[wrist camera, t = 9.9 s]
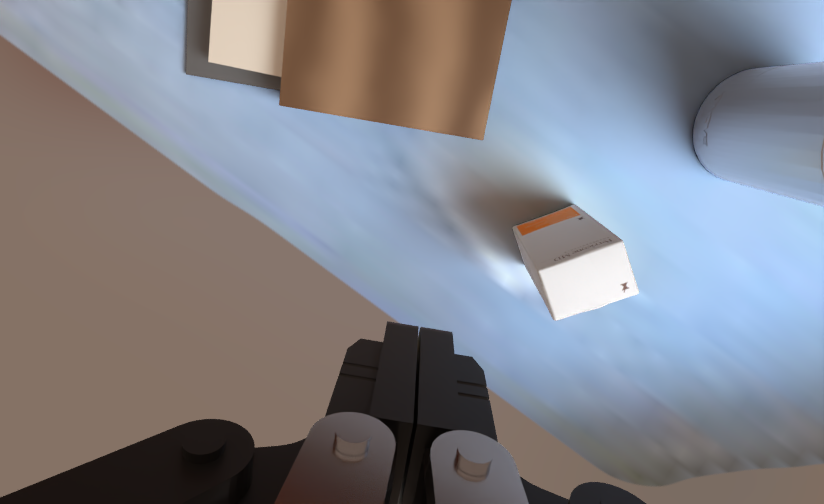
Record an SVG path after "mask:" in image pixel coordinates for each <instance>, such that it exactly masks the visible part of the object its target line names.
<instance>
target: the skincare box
mask: <svg viewBox="0 0 824 504" xmlns="http://www.w3.org/2000/svg"><path fill="white" fill-rule="evenodd" d="M512 229H513V232H514V235H515V238H516V241H517V244H518V247H519V250H520V253H521V256H522V259H523V262H524V265H525V267H526V269H527V271H528V273H529V274H530V276H531V278H532V280H533V282H534V284H535V286H536V287H537V289H538V291H539V293H540V295H541V297H542V298H543V300H544V302H545V304H546V306H547V308H548V310H549V312H550V314H551V316H552V318H553V320H555V321H556V320H560V319H563V318H566V317H569V316H572V315H575V314H578V313H581V312H585V311H590V310H594V309H597V308H600V307H603V306H604V305H607V304H609V303H612V302H616V301H618V300H621V299H624V298H627V297H630V296H633V295H636V294H638V293H639V290H638V287H637V284H636V281H635V278H634V274H633V271H632V268H631V265H630V262H629V258H628V255H627V252H626V249H625V245H624V242H623V240H621V239H620V238H619V237H618V236H616V235H615V234H613V233H612V232H611V231H610V230H608V229H607V228H606V227H604V226H603V225H602V224H600V223H599V222H598V221H596V220H595V219H594V218H592V217H591V216H590V215H588V214H587V213H586V212H584V211H583V210H582V209H580V208H579V207H578V206H577V205H575V204H573V205H571V206H569V207H566V208H563V209H561V210H558V211H555V212H553V213H550V214H547V215H545V216H542V217H539V218H536V219H533V220H530V221H527V222H525V223H522V224H519V225H516V226H513V227H512Z"/></svg>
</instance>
